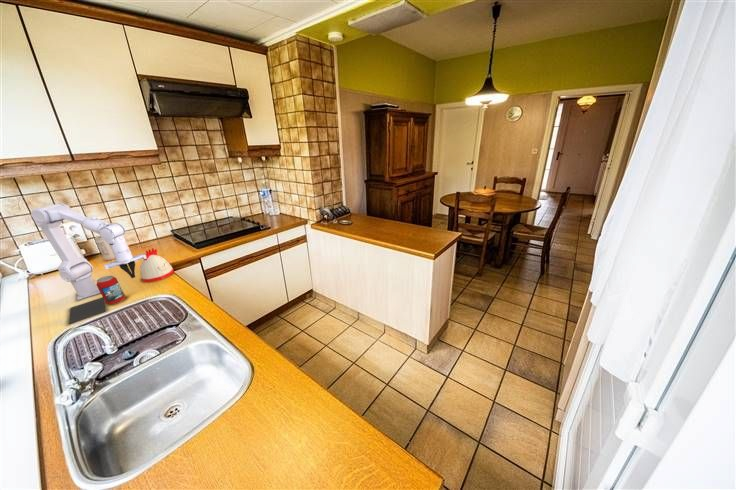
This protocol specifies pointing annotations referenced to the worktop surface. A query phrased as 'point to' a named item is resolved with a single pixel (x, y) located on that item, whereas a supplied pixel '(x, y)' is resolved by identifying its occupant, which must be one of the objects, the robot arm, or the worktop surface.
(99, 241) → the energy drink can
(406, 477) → the worktop surface
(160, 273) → the kitchen timer
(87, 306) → the rubber mat
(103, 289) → the beverage can
